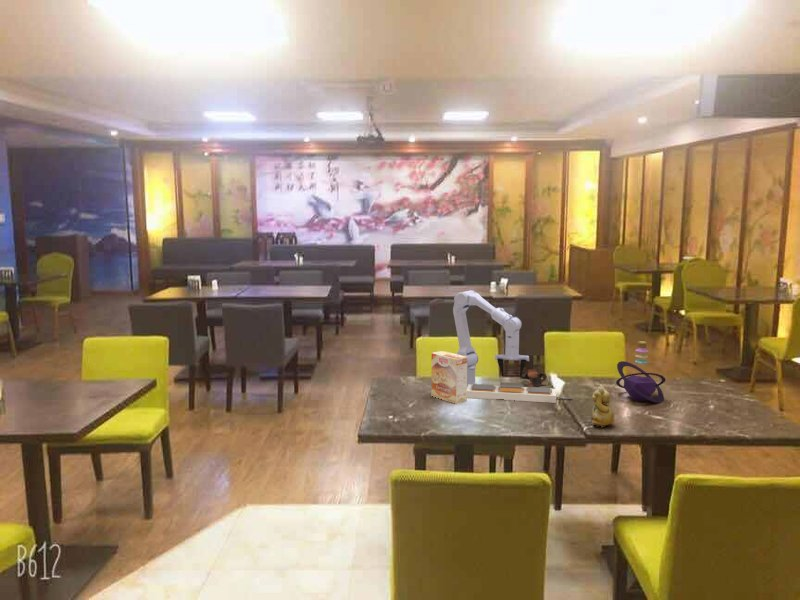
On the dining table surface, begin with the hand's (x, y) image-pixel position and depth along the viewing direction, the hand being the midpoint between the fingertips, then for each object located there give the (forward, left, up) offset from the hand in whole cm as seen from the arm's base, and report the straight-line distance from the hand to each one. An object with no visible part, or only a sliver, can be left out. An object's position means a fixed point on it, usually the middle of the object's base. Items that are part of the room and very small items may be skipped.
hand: (511, 376), depth 278 cm
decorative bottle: (+54, +5, -9) cm, 55 cm away
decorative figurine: (+35, -32, -9) cm, 48 cm away
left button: (-12, -2, -7) cm, 14 cm away
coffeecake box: (-26, -10, -9) cm, 29 cm away
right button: (+12, -2, -7) cm, 14 cm away
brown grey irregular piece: (+10, +19, -9) cm, 23 cm away
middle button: (0, -2, -5) cm, 6 cm away
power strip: (+3, -2, -9) cm, 9 cm away
